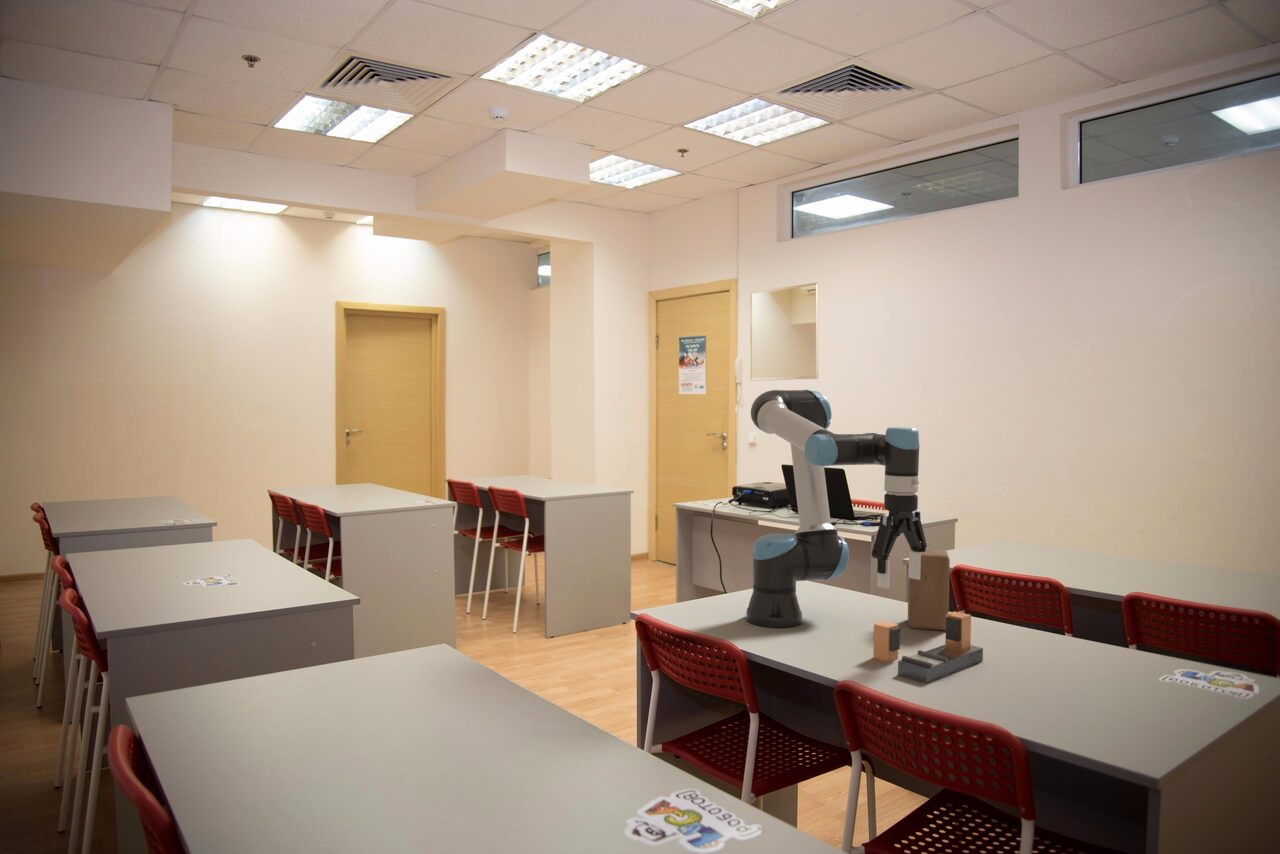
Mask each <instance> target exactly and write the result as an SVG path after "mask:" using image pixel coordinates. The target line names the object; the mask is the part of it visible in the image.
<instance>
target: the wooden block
mask: <svg viewBox="0 0 1280 854" xmlns="http://www.w3.org/2000/svg"><path fill="white" fill-rule="evenodd" d="M909 551H913V550H911V548H910V549H909ZM950 561H951V560H950V556H949V554H948V551H947V550H945V549H935V548H934V549H931V548H926V551H925V552H921V569H920V580H917V579H912V578H908V585H907V587H908V588H907V598H908V599H907V624H908V626H909V627H910V628H912V629H920V630H929V631H930V630H931V631H932V630H933V631H943V632H944V631H945V632H946V614H948V613H950V612H949V610H950V609H949V608H950V607H949V605H950V564H951V562H950Z"/></svg>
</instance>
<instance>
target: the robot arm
mask: <svg viewBox="0 0 1280 854" xmlns="http://www.w3.org/2000/svg"><path fill="white" fill-rule="evenodd" d="M750 418H751V421H752V423H753V425H755V427H756V428H758V430H759V431H762V432H764V433H765V434H769V435H776V436H778V437H780V439H783V440H784V441H787V443H789V444H790V451H791V459H792V468H793V479H794V486H795V495H796V496H795V497H796V503H797V511H798V512H797V513H798V522H799V523H798V524H799V526H798V529H797V530H796V531H795V533H794V534H793V533H791V532H790V533H788V532H781V533H780V532H776V533H769V534H765V535H762V536H760V537H758V538H757V539H756V540H755V541H754V543H753V552H752V558H753V559H752V561H753V563H752V565H753V566H752V567H753V569H752V571H753V572H752V581H753V582H752V594H751V596H750V599H749V603H748V606H747V608H746V616H745V618H746V619H745V620H746V621H747V622H748V623H751V624H753V625H756V626H760V627H765V628H767V627H768V628H790V627H796V626H799V625H801V624H802V623H803V612H802V610H801V608H800V607H801V606H800V604H799V600H798V596H797V590H796V589H797V582H802V581H804V582H806V581H818V580H822V581H826V580H827V581H828V580H829V579H837V578H838V577H841V576H842V575H843V574H844V572H845V571H846V569H847V567H848V563H849V558H850V557H849V555H850V554H849V553H850V552H849V545H848V543H847V542H846V540H845V538H844V537H842V536H840V535H839V534H838V529H837V528H836V527H835V526H834V525H832V523H831V513H830V507H829V498H828V491H827V490H828V488H827V482H826V481H827V480H826V473H825V467H830V466H859V465H861V466H862V465H863V466H865V465H867V466H868V465H869V466H870V465H874V466H875V465H879V466H884V485H883V486H884V489H883V491H885V492H886V493H885V494H884V495H883V496H884V498H883V499H884V500H883V503H884V504H883V507H884V509H885V510H886V511H888V515H880V516H879V526H878V530H877V533H876V537H875V541H874V544H873V547H872V550H871V557H873V559H877V575H876V576H877V581H876V582H877V583H876V585H877V587H879V588H884V589H890V582H891V580H890V579H891V578H890V577H891V576H890V575H891V573H890V572H891V569H890V568H891V559H888V558H889V556H890V554H891V552H892V550H893V548H894V545H895V543H896V540H897V539H898V537H900V536H901V534H903V535H904V537H905V539H906V542H907V543H908V545H909V548H910V549H911V550H913V551H910V550H909V551H908V578H912V579H917V580H920V569H921V552H925V551H926V549H927V545H928V544H927V540H926V537H925V533H924V532H925V531H924V528H923V525H922V521H921V519H922V518H921V512H920V511H918V509H919V503H918V502H919V496H918V495H917V494H916V493H918V492H919V491H918V490H919V483H920V481H919V463H920V462H919V461H920V447H921V445H920V433H919V430H918V429H917V428H915V427H904V426H903V427H901V426H900V427H899V426H897V427H894V426H892V427H887V429H886V431H885V434H882V433H877V432H876V433H875V432H865V433H858V434H857V433H856V434H855V433H852V434H850V433H847V434H846V433H842V434H839V433H834V432H832V431H830V430H828V428H829V427H830V424H831V419H832V407H831V404H830V402H829V400H828V398H827V397H826V396H825V395H824V394H823V393H822V392H820V391H817V390H809V389H801V390H800V389H799V390H798V389H797V390H796V389H793V390H791V389H790V390H789V389H787V390H785V389H783V390H780V389H772V390H768V391H764V392H763V393H761V394H760V395H758V396H757V397H756V398H755V399H754V401H753V402H752V404H751V408H750Z"/></svg>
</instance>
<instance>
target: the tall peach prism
mask: <svg viewBox="0 0 1280 854" xmlns="http://www.w3.org/2000/svg"><path fill="white" fill-rule="evenodd" d="M900 649H901V627H899V624H897V623H892V622H888V621H880V622H876V623H873V655H872V656H873V658H874V659H876V660H881V661H884V662H888V663H889V662H892V661H895V660H898V659H899V650H900Z"/></svg>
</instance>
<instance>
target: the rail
mask: <svg viewBox="0 0 1280 854" xmlns="http://www.w3.org/2000/svg"><path fill="white" fill-rule="evenodd" d="M971 632H972V614H969V613H963V612H959V611H952V612H949V613H948V614H946V630H945V644H943V645H940V646H938V647H935V648H931V649H929V650H925V651H924V650H920V649H919V650H917V654H914V655H912V656H911V655H910V656H907V655H902V656H901V660H900V659H899V660H898V661H897V675H899V676H902V677H905V678H908V679H911V680H915V681H918V682H922V683H925V684H928V683H931V682H933V681H936V680H938V679H941V678H944V677H946V676H947V675H951V674H953V673H956V672H959V671H961V670H964V669H966V668H968V667H970V666H971V667H972V665H975V664H978V663H981V662H983V661H984V648H983V647H981V646H975V645H973V644H971V636H972V635H971V634H972V633H971Z"/></svg>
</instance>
